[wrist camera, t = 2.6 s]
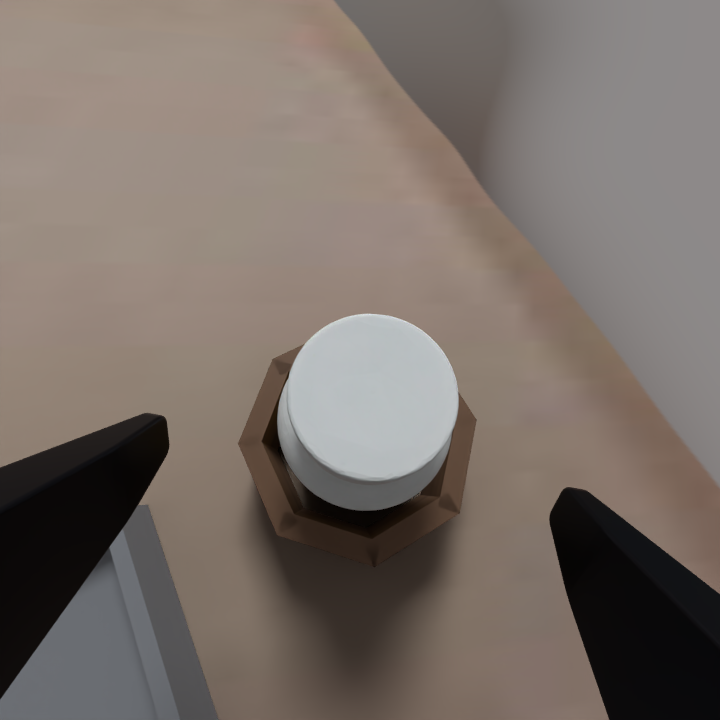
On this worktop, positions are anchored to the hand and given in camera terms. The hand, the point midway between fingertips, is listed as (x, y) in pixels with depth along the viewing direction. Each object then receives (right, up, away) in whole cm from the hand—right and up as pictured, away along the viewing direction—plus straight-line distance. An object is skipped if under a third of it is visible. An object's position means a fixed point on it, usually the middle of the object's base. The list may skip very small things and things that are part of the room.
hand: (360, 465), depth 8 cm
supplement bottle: (0, -2, +9) cm, 9 cm away
